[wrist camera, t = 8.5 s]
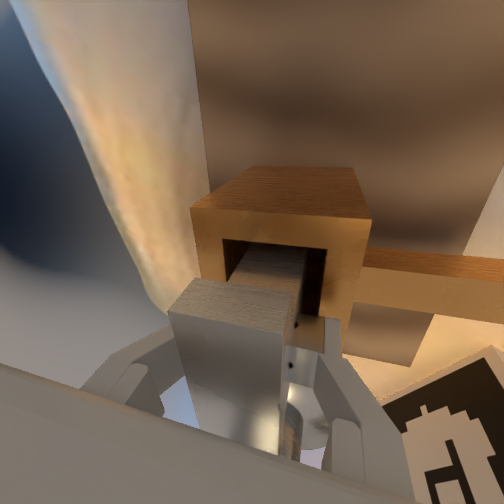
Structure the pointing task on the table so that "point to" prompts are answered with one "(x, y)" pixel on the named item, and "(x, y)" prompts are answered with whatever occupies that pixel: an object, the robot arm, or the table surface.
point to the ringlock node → (334, 263)
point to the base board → (362, 117)
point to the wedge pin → (242, 344)
